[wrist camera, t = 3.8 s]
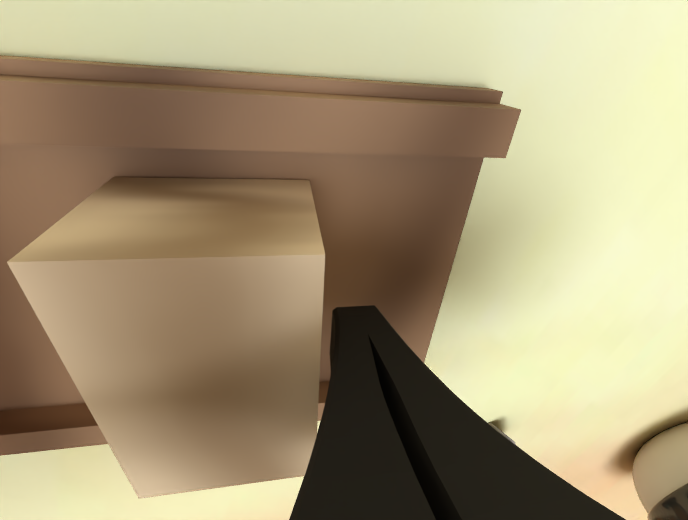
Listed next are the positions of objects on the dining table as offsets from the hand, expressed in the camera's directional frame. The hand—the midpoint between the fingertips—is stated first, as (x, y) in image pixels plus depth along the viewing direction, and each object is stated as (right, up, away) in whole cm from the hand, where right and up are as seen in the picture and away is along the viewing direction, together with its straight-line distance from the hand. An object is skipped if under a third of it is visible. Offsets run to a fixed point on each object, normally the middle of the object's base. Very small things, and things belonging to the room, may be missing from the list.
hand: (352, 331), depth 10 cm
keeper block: (-4, +1, +1) cm, 4 cm away
